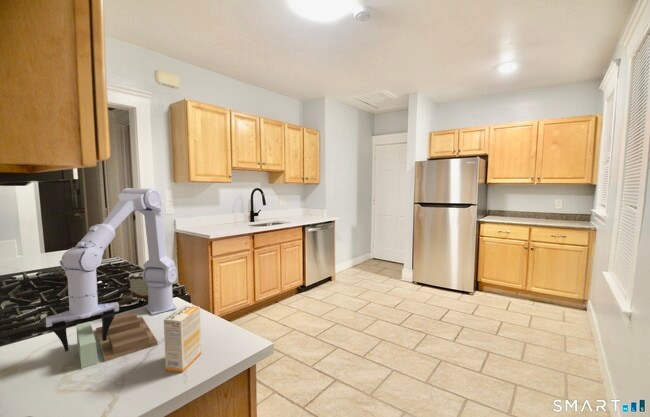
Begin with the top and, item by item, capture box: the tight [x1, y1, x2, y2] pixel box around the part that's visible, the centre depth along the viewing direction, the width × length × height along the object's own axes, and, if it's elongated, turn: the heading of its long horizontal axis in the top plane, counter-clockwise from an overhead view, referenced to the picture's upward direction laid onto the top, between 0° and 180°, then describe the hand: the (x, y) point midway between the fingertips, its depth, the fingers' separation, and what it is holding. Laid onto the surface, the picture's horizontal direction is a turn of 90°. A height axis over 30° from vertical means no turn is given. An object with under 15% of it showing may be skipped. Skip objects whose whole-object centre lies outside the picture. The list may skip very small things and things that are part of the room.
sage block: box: [75, 321, 98, 370], centre depth 78 cm, size 14×3×6 cm, turn 43°
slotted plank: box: [95, 312, 158, 362], centre depth 86 cm, size 20×12×3 cm, turn 42°
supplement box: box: [163, 305, 202, 373], centre depth 75 cm, size 8×5×13 cm, turn 171°
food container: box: [127, 271, 149, 301], centre depth 114 cm, size 12×6×10 cm, turn 84°
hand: (86, 344), depth 78 cm, fingers open, 7 cm apart
